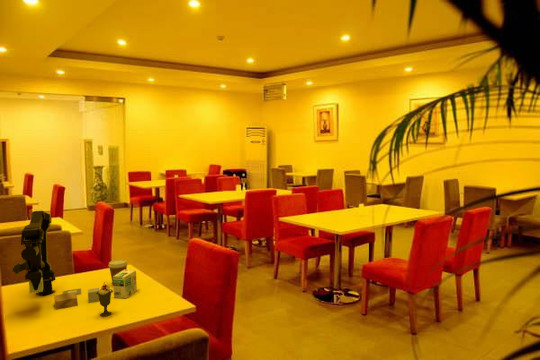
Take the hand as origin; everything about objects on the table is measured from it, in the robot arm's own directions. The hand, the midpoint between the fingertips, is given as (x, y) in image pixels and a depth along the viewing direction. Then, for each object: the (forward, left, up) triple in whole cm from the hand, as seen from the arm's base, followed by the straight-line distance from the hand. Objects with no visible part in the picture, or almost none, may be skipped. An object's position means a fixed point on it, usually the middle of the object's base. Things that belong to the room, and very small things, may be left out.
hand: (36, 288), depth 186 cm
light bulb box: (+23, +30, -10) cm, 39 cm away
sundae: (+33, +9, -10) cm, 36 cm away
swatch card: (-3, +20, -10) cm, 22 cm away
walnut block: (+7, +9, -10) cm, 15 cm away
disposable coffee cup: (+9, +39, -10) cm, 41 cm away
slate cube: (+15, +18, -10) cm, 25 cm away
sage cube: (0, 0, -1) cm, 1 cm away
